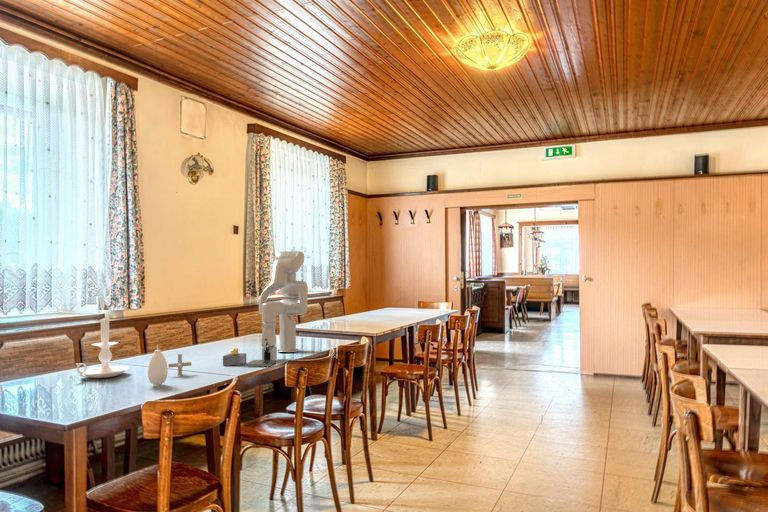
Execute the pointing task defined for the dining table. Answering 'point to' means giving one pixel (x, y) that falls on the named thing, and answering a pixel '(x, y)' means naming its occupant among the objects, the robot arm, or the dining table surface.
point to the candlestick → (103, 357)
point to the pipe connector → (179, 364)
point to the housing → (271, 353)
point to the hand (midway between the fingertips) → (269, 358)
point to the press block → (234, 359)
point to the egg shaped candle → (157, 368)
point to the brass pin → (234, 351)
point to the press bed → (260, 363)
